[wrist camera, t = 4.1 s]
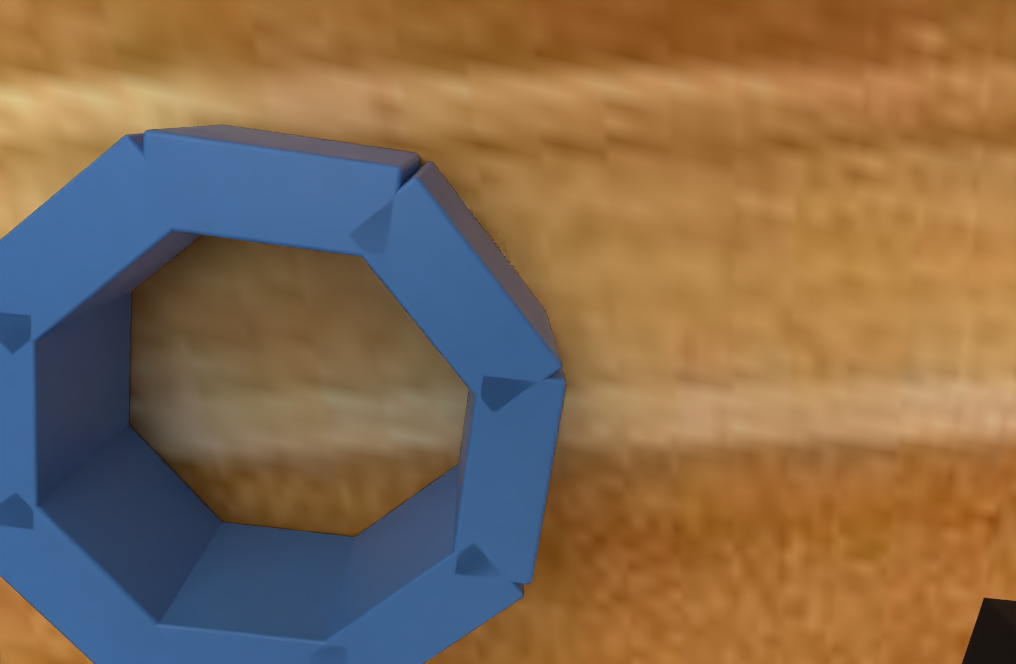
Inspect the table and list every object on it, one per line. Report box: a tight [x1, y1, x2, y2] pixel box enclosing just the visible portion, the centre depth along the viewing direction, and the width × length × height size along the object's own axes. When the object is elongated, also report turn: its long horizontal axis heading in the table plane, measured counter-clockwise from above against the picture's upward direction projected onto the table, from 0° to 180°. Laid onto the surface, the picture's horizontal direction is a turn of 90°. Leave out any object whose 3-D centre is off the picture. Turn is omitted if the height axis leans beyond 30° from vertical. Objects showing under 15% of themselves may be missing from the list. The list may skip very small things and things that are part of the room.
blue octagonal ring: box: [0, 125, 567, 664], centre depth 16 cm, size 11×11×4 cm
